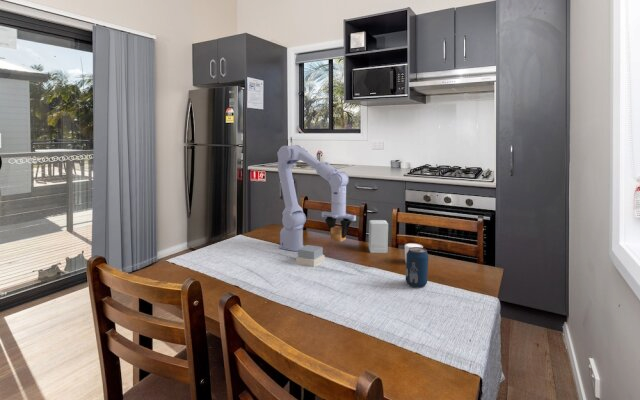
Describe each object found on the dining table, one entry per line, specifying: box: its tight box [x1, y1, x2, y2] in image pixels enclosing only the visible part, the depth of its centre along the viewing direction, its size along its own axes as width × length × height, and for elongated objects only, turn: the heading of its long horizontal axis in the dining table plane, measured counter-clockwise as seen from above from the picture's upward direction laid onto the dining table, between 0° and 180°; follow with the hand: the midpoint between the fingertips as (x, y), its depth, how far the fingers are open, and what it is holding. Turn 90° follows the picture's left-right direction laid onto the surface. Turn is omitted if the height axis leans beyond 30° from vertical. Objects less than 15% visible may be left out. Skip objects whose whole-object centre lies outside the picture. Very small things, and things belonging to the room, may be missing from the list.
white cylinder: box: [404, 242, 424, 264], centre depth 151 cm, size 7×7×7 cm
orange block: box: [330, 225, 347, 243], centre depth 157 cm, size 4×4×5 cm
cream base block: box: [295, 254, 326, 268], centre depth 151 cm, size 8×8×3 cm
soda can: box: [405, 247, 429, 289], centre depth 128 cm, size 7×7×12 cm
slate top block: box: [297, 244, 324, 260], centre depth 151 cm, size 7×7×3 cm
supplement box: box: [367, 219, 389, 254], centre depth 166 cm, size 7×7×13 cm
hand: (338, 236), depth 157 cm, fingers closed on orange block, 4 cm apart
